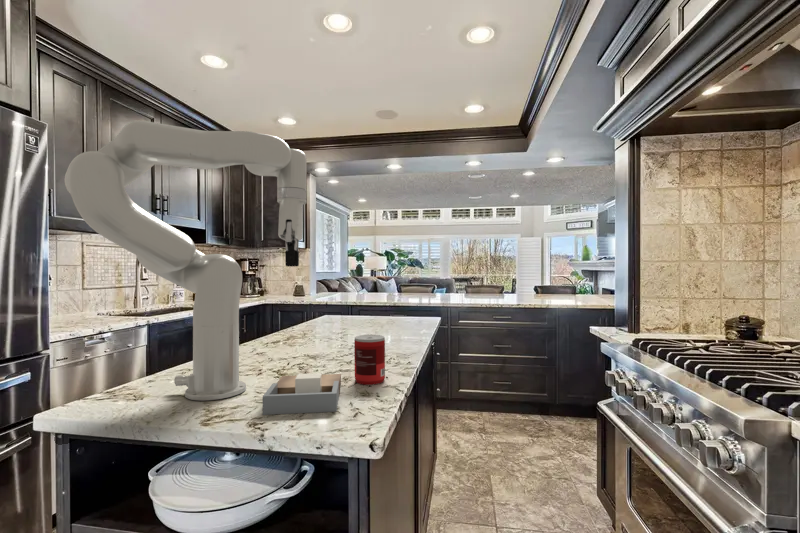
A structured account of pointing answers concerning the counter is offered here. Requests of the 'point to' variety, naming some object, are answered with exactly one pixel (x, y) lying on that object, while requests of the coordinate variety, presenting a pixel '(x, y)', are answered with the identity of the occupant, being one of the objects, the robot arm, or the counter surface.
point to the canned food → (369, 359)
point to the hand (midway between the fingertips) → (292, 266)
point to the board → (288, 383)
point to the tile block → (308, 383)
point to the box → (300, 401)
